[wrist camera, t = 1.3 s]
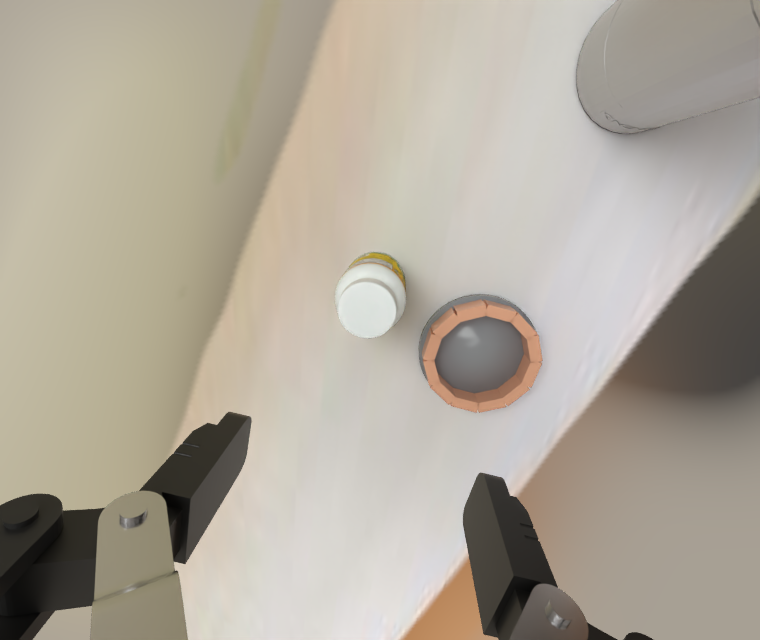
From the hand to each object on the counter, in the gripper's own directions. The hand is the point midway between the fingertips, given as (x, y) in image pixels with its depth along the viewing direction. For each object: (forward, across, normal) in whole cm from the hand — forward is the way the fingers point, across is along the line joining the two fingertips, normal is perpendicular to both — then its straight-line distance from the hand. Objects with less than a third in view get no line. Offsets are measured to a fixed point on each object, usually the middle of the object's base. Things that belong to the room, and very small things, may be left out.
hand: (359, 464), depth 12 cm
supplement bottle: (+22, +1, -1) cm, 23 cm away
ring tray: (+22, -10, +3) cm, 24 cm away
